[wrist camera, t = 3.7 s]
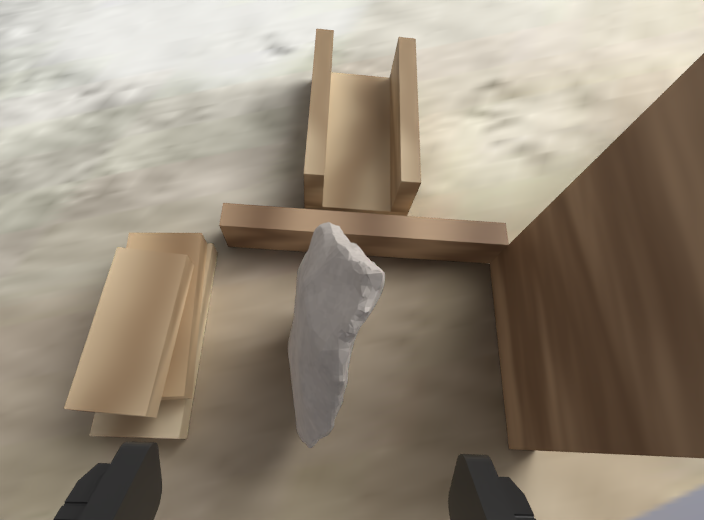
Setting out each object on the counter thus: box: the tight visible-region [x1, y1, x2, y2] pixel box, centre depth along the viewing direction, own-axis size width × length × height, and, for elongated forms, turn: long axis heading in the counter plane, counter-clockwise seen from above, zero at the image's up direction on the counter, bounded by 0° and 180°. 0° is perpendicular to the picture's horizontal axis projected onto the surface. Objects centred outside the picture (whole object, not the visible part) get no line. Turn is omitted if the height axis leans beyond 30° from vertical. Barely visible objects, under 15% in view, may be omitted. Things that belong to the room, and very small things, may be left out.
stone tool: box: [288, 222, 385, 448], centre depth 18 cm, size 9×3×15 cm, turn 6°
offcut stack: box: [64, 233, 218, 439], centre depth 23 cm, size 5×11×4 cm, turn 178°
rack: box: [219, 54, 704, 458], centre depth 17 cm, size 19×13×20 cm
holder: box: [304, 29, 421, 216], centre depth 30 cm, size 7×12×4 cm, turn 178°
